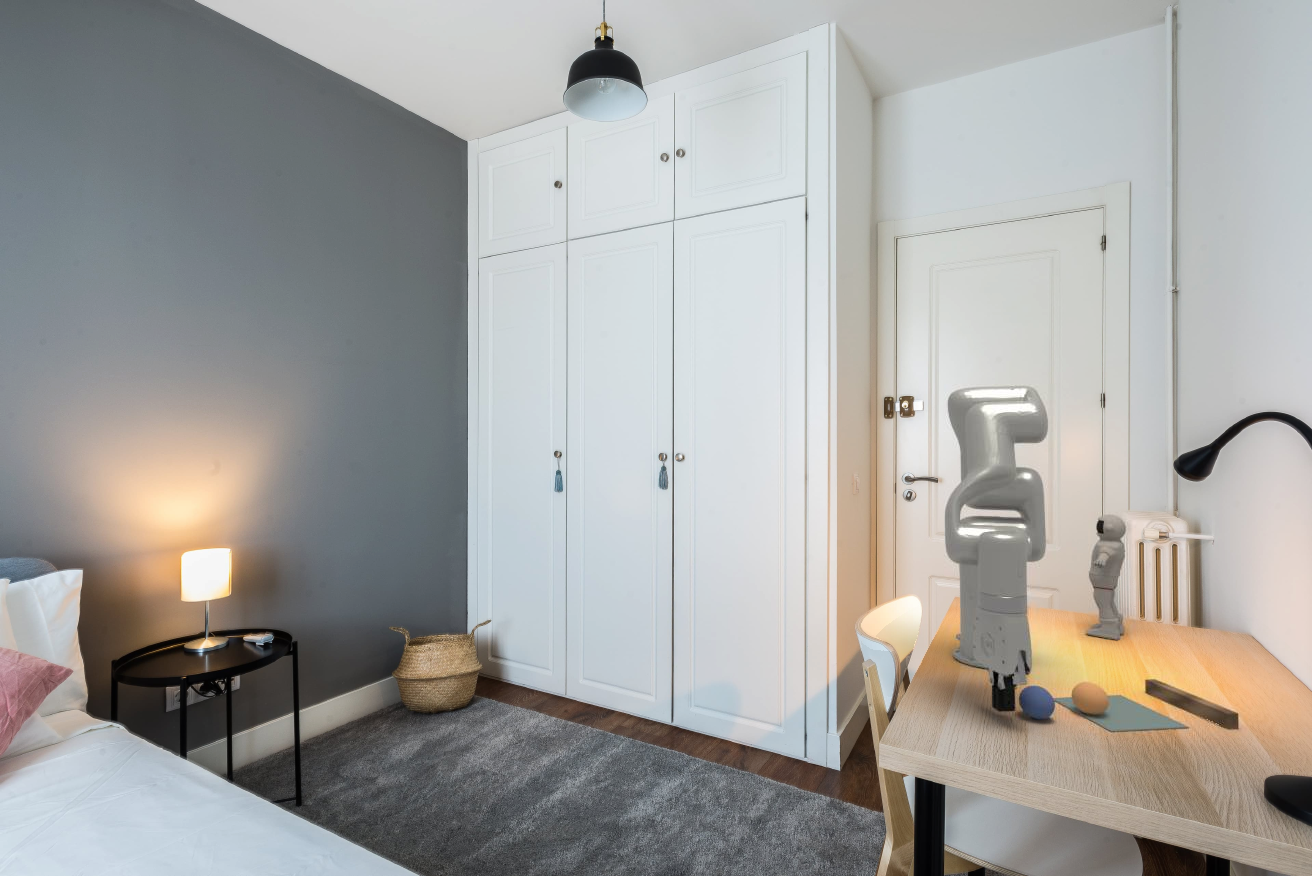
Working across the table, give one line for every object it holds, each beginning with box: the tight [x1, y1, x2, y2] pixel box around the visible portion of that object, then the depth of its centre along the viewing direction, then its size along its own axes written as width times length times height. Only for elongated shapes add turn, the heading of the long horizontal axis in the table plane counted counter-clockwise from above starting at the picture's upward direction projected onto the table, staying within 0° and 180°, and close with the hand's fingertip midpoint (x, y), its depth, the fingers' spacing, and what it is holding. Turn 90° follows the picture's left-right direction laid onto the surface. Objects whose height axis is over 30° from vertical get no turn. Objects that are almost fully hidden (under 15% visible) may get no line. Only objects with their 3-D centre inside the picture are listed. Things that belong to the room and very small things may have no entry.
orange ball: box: [1071, 681, 1109, 715], centre depth 113 cm, size 5×5×5 cm
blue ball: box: [1018, 685, 1056, 720], centre depth 112 cm, size 5×5×5 cm
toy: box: [1085, 514, 1127, 641], centre depth 161 cm, size 29×8×30 cm, turn 136°
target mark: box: [1053, 694, 1190, 733], centre depth 114 cm, size 14×14×1 cm
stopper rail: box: [1144, 678, 1240, 730], centre depth 115 cm, size 16×2×2 cm, turn 6°
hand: (1003, 709), depth 112 cm, fingers closed
